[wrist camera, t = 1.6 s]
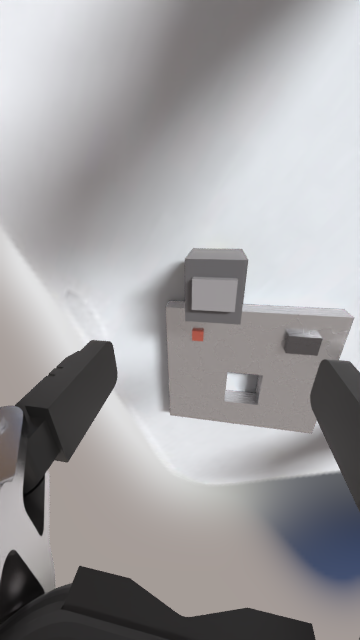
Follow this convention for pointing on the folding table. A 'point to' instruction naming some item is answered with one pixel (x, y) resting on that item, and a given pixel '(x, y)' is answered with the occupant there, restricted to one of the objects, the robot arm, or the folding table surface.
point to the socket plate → (252, 363)
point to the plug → (215, 285)
